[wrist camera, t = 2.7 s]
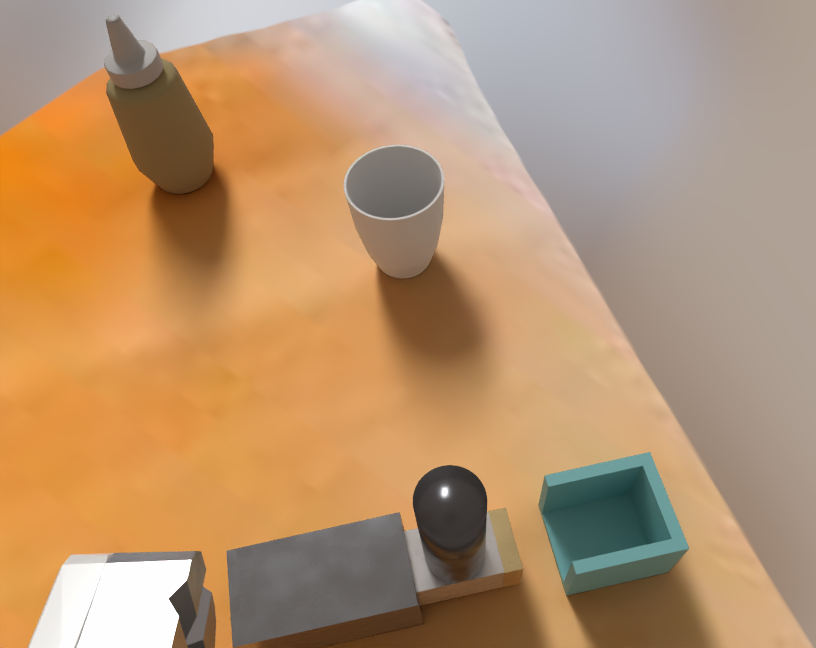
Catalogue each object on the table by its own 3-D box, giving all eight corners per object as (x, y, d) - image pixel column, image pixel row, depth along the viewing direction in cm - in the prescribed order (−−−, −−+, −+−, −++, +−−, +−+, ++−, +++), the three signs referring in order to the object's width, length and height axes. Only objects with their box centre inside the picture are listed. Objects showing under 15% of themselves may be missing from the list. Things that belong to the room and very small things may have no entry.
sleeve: (257, 661, 50) (232, 647, 45) (250, 573, 53) (226, 550, 48) (423, 623, 51) (418, 605, 46) (406, 538, 54) (399, 512, 49)
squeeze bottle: (198, 212, 73) (124, 59, 58) (131, 192, 75) (43, 40, 60) (238, 155, 76) (180, -2, 61) (174, 138, 79) (101, -18, 64)
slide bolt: (276, 639, 50) (213, 592, 38) (270, 578, 52) (209, 516, 40) (519, 584, 51) (532, 520, 39) (503, 526, 53) (511, 449, 41)
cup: (429, 212, 70) (423, 133, 62) (462, 275, 66) (459, 200, 58) (349, 238, 69) (331, 162, 61) (376, 304, 65) (361, 232, 57)
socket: (566, 595, 51) (576, 574, 46) (538, 504, 55) (544, 475, 49) (668, 572, 51) (689, 548, 46) (633, 483, 55) (649, 452, 50)
